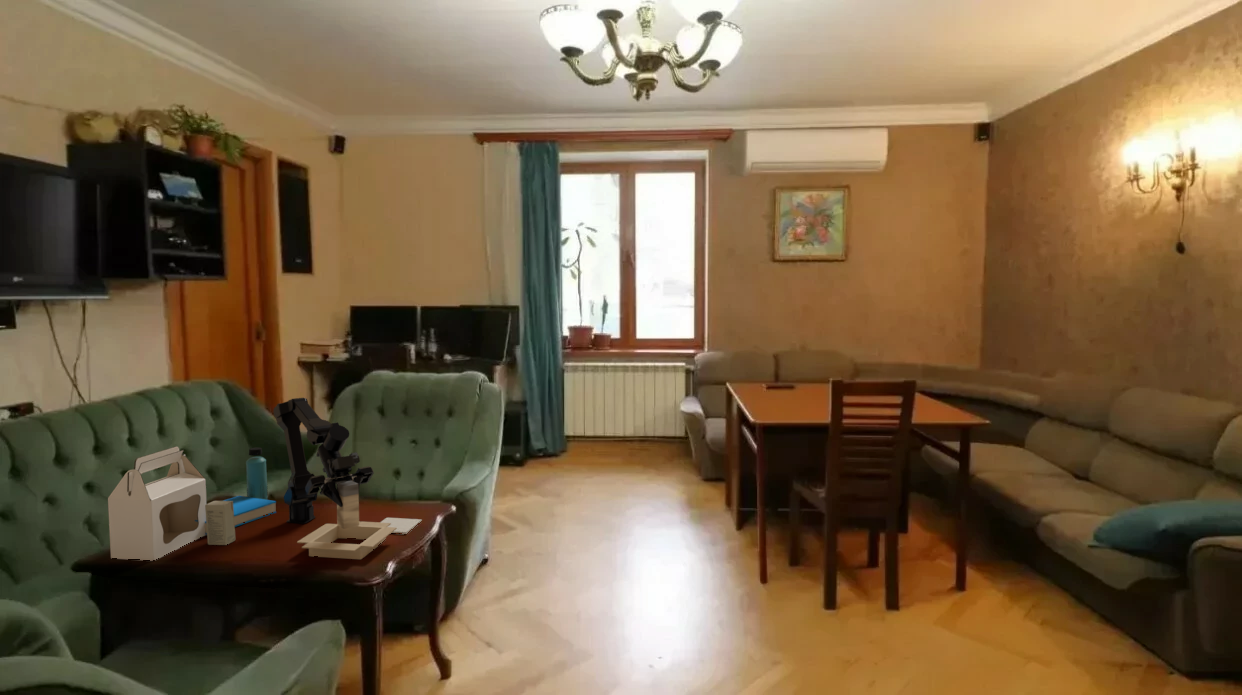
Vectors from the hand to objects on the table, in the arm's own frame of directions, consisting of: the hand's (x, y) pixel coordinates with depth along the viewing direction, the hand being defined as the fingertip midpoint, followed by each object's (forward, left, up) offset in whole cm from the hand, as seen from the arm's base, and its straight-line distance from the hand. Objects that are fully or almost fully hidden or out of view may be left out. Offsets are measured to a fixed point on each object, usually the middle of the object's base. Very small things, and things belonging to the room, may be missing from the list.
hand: (349, 504), depth 206 cm
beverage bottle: (-52, +34, -14) cm, 64 cm away
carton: (-1, +1, -13) cm, 13 cm away
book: (-52, +17, -13) cm, 56 cm away
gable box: (-55, -6, -14) cm, 57 cm away
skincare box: (-40, -1, -14) cm, 42 cm away
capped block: (-1, +1, -7) cm, 7 cm away
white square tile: (+5, +20, -13) cm, 24 cm away
